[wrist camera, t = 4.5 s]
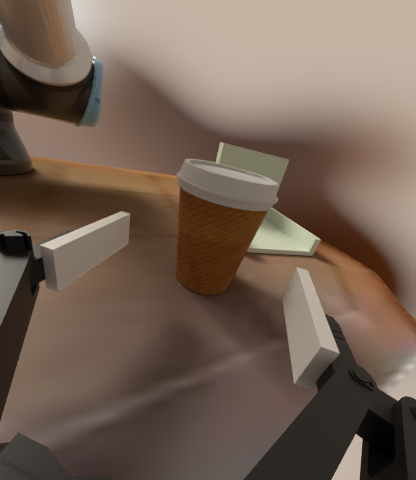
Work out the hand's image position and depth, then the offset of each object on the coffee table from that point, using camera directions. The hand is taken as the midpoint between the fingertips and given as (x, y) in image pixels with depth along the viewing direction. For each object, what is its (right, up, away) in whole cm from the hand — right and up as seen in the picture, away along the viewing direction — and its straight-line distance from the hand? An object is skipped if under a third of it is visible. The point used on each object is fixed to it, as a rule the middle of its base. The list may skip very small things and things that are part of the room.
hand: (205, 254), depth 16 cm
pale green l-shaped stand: (+9, +3, +25) cm, 27 cm away
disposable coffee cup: (0, -3, +8) cm, 9 cm away
